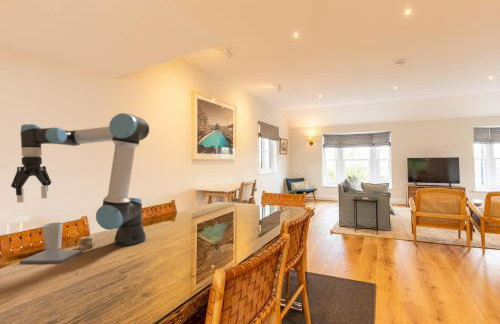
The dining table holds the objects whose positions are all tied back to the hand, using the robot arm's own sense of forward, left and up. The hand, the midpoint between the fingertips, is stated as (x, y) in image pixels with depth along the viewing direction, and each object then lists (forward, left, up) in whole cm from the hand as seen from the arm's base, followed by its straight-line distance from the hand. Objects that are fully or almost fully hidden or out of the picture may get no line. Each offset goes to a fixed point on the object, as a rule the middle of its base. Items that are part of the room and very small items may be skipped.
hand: (33, 200), depth 129 cm
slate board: (-18, +11, -24) cm, 32 cm away
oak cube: (-24, -3, -24) cm, 35 cm away
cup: (-8, -1, -24) cm, 26 cm away
